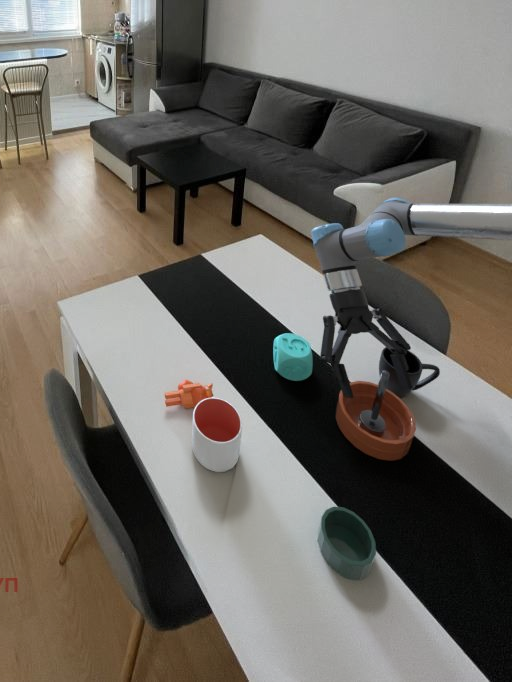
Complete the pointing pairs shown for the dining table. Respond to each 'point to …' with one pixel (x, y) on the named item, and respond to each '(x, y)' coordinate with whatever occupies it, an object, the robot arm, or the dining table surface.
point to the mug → (413, 372)
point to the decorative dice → (292, 357)
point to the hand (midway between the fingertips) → (378, 392)
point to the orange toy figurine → (188, 394)
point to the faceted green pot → (346, 543)
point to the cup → (216, 434)
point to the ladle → (375, 410)
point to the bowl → (392, 411)
